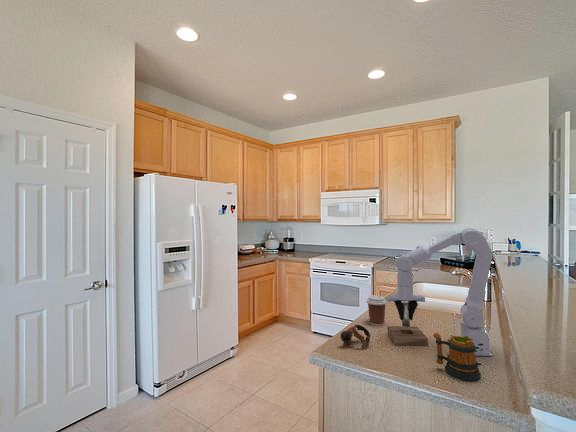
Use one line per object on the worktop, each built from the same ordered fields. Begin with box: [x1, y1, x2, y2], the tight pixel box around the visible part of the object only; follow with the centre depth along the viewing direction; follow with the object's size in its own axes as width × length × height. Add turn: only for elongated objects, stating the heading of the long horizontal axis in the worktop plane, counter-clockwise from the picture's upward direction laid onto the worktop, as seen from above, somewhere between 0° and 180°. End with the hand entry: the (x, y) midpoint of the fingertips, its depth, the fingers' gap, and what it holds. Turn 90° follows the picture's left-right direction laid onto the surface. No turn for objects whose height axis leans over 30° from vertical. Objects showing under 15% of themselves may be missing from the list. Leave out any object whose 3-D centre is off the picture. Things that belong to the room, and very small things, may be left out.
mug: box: [432, 332, 482, 383], centre depth 92 cm, size 13×10×12 cm
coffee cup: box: [366, 294, 388, 326], centre depth 136 cm, size 9×9×12 cm
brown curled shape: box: [340, 324, 372, 349], centre depth 113 cm, size 12×10×8 cm
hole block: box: [387, 325, 429, 347], centre depth 117 cm, size 12×12×3 cm
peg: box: [401, 301, 411, 327], centre depth 117 cm, size 3×3×9 cm
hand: (405, 319), depth 117 cm, fingers closed on peg, 3 cm apart
